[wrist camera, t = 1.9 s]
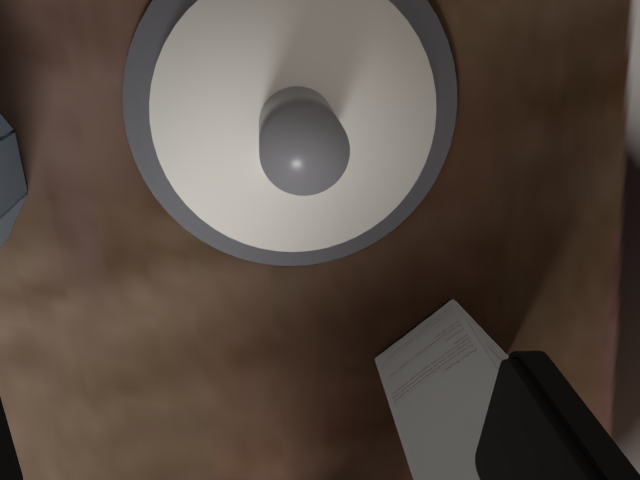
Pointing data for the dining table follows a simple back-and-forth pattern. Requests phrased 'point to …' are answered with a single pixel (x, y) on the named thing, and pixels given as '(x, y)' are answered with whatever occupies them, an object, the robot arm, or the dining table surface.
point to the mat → (138, 75)
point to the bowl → (10, 180)
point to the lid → (292, 117)
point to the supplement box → (441, 392)
